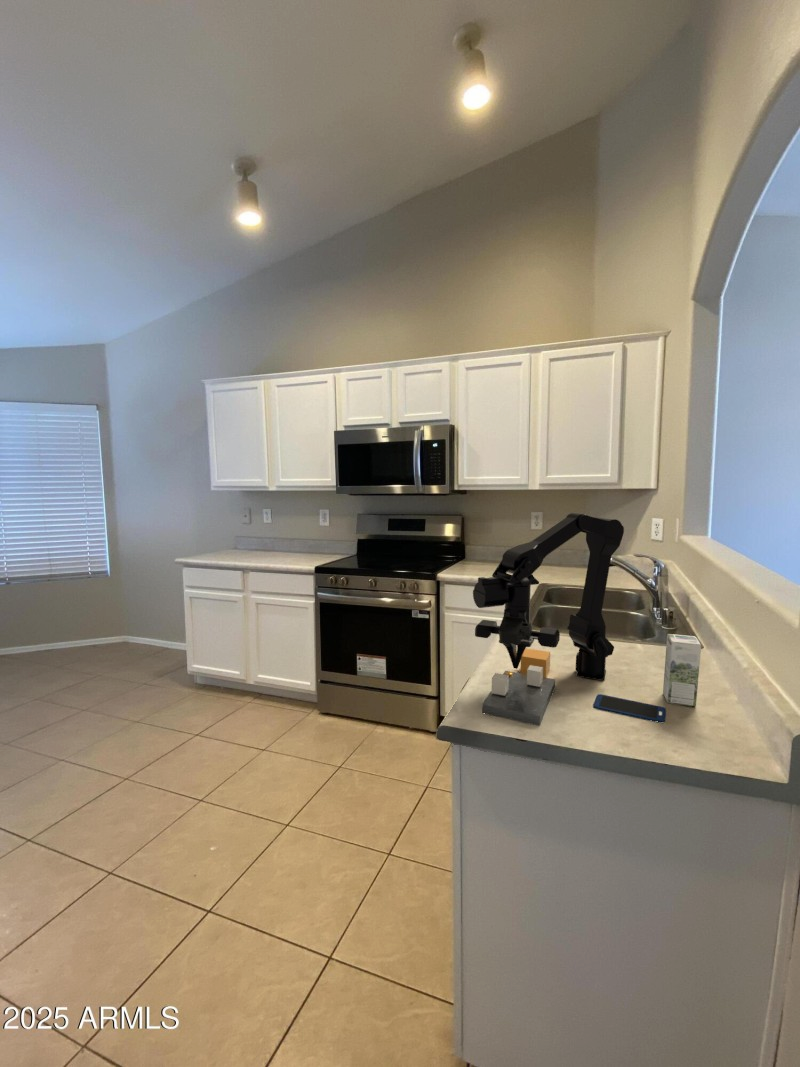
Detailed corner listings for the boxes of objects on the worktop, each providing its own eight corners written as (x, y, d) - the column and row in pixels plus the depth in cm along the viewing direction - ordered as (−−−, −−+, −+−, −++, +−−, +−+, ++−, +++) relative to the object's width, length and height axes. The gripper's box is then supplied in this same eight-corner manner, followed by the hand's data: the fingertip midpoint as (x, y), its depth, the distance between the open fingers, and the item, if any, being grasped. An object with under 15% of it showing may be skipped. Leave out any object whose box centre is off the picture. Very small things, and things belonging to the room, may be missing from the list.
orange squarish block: (549, 670, 128) (550, 651, 128) (545, 679, 123) (546, 660, 122) (525, 666, 131) (526, 648, 130) (520, 674, 126) (520, 656, 125)
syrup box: (690, 696, 113) (695, 635, 111) (696, 708, 108) (701, 643, 106) (662, 693, 115) (666, 632, 113) (667, 704, 110) (671, 640, 108)
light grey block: (542, 681, 116) (542, 667, 115) (540, 686, 113) (540, 671, 113) (529, 679, 117) (529, 665, 117) (526, 684, 114) (527, 669, 114)
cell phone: (664, 725, 101) (665, 721, 101) (592, 709, 108) (592, 706, 108) (665, 710, 107) (666, 707, 107) (597, 696, 114) (597, 693, 114)
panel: (555, 687, 118) (555, 677, 118) (539, 725, 100) (540, 714, 100) (505, 678, 123) (505, 669, 123) (481, 713, 105) (482, 702, 105)
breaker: (508, 690, 111) (508, 675, 111) (504, 695, 109) (505, 680, 108) (495, 687, 113) (495, 672, 112) (491, 693, 110) (491, 677, 109)
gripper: (468, 607, 113) (467, 673, 115) (553, 617, 105) (551, 688, 107) (482, 596, 123) (481, 657, 125) (561, 604, 115) (558, 669, 117)
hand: (515, 668), depth 118 cm, fingers closed
